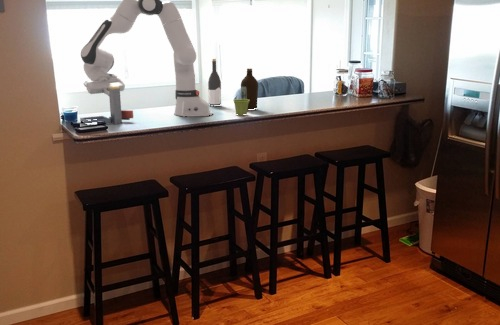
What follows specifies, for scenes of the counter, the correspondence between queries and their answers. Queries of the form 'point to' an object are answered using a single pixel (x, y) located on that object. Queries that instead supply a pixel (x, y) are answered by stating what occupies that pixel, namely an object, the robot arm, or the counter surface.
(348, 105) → the counter surface
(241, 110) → the plant pot
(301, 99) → the counter surface
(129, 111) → the crank lever
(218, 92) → the wine bottle
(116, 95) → the pin
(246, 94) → the olive oil
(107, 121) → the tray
